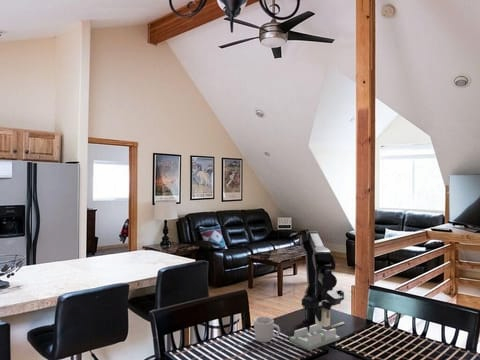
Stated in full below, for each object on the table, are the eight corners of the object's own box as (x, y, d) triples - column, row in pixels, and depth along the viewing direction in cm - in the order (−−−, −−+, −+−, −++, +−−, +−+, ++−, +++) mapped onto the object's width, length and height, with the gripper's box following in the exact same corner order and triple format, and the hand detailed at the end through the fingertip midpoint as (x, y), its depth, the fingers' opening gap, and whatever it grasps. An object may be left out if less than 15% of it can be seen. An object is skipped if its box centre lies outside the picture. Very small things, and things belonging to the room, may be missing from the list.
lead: (332, 328, 165) (332, 326, 165) (330, 327, 166) (330, 325, 166) (345, 324, 170) (345, 321, 170) (343, 323, 171) (343, 321, 171)
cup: (283, 339, 153) (283, 319, 153) (276, 347, 146) (276, 326, 146) (258, 334, 158) (258, 315, 158) (250, 342, 151) (250, 321, 151)
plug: (315, 323, 156) (315, 308, 156) (320, 321, 158) (320, 307, 158) (325, 327, 151) (325, 312, 151) (331, 325, 153) (331, 310, 153)
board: (289, 340, 152) (289, 329, 152) (319, 330, 162) (319, 320, 162) (309, 350, 143) (309, 339, 143) (339, 339, 153) (339, 328, 153)
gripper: (321, 290, 143) (321, 332, 143) (353, 282, 154) (353, 321, 154) (300, 283, 152) (300, 323, 152) (332, 276, 163) (332, 313, 163)
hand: (322, 320), depth 155 cm, fingers closed on plug, 3 cm apart
